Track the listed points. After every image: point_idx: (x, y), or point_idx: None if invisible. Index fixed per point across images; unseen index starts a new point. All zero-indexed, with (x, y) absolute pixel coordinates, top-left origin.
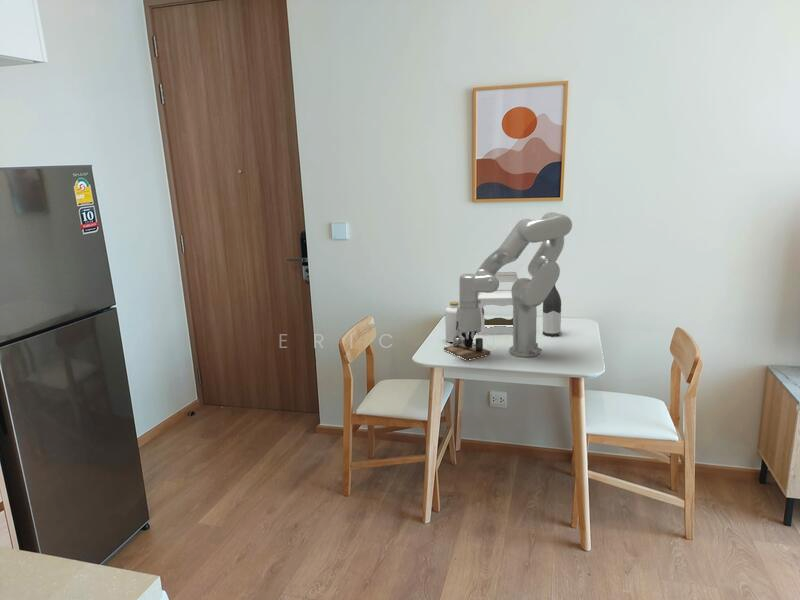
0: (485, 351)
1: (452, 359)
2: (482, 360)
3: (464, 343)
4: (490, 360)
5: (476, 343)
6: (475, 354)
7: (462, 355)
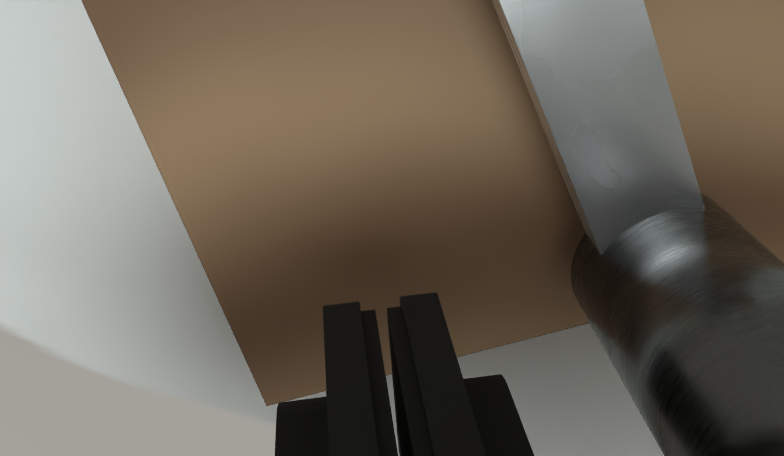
0: (773, 231)
1: (16, 196)
2: (531, 400)
3: (278, 430)
4: (639, 432)
5: (646, 421)
6: (500, 316)
7: (223, 281)
